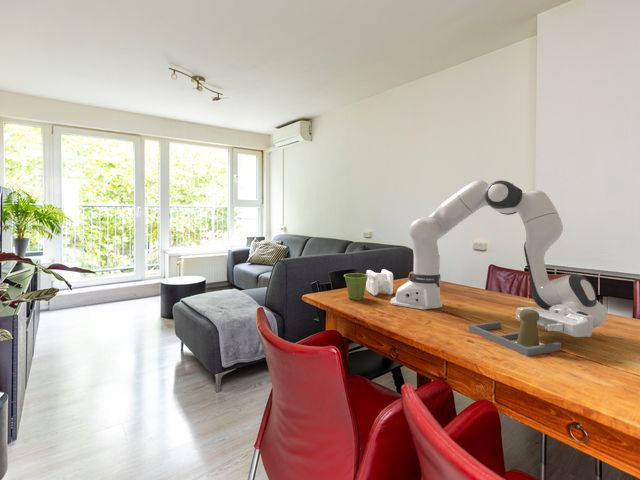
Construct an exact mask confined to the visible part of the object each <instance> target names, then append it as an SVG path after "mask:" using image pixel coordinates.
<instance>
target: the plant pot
mask: <svg viewBox="0 0 640 480" xmlns="http://www.w3.org/2000/svg"><path fill="white" fill-rule="evenodd" d="M343 277H344V280H345V283H346V289H347V296H348V299H349V300H354V301H361V300H363V299H364V298H365V292H366V282H367V277H368V275H366V273H359V272H358V273H356V272H355V273H346V274H344V275H343Z"/></svg>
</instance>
